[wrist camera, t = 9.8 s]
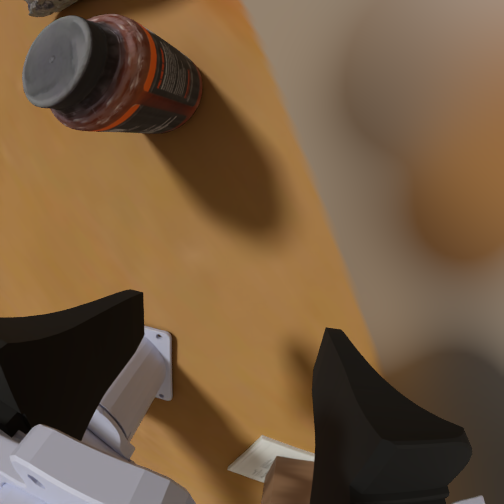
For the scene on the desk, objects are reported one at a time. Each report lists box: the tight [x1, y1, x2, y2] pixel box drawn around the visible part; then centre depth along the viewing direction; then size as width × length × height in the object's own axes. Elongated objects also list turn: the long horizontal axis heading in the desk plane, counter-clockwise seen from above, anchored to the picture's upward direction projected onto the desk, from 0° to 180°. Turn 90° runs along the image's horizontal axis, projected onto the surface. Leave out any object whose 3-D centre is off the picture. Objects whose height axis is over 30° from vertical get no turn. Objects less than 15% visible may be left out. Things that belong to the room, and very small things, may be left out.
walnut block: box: [261, 456, 314, 504], centre depth 25 cm, size 5×5×6 cm
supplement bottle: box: [22, 14, 202, 134], centre depth 14 cm, size 6×6×11 cm
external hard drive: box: [227, 435, 315, 483], centre depth 29 cm, size 2×8×12 cm
